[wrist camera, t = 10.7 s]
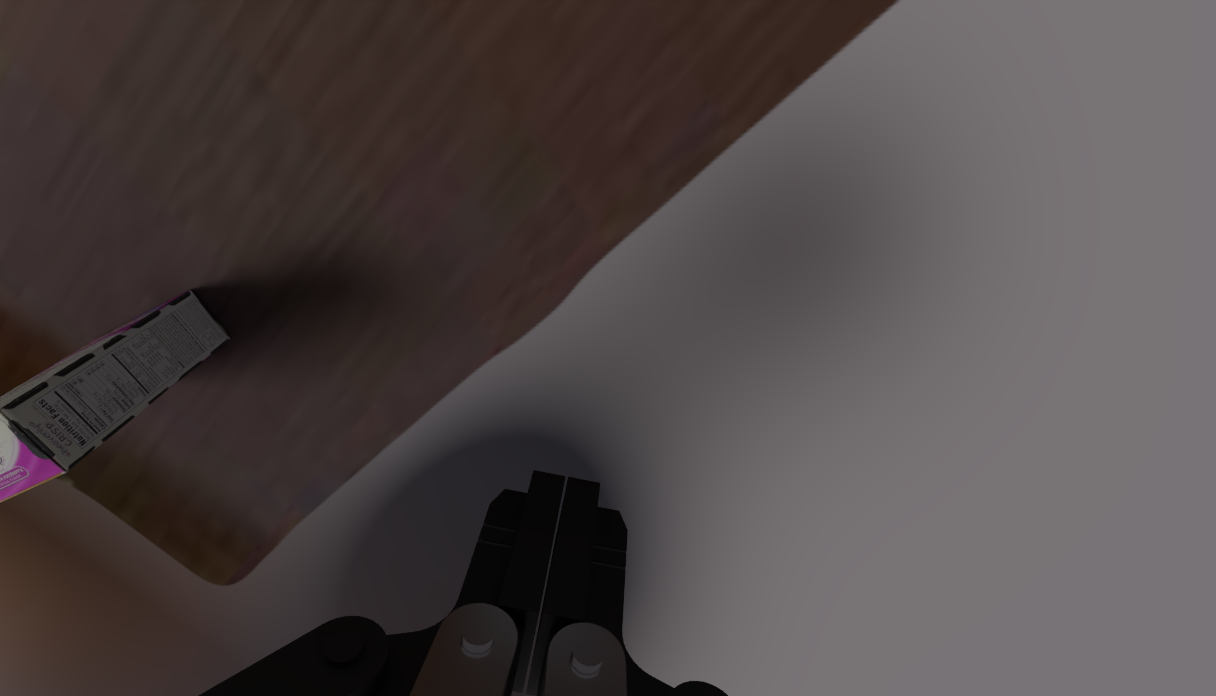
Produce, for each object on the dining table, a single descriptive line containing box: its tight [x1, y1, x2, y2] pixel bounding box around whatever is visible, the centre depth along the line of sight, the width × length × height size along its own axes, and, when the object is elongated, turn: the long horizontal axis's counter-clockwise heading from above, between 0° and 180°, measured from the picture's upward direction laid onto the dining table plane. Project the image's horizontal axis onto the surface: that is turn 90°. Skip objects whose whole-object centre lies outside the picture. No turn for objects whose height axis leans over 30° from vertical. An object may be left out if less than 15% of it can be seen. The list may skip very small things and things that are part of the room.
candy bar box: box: [0, 290, 230, 502], centre depth 42 cm, size 11×5×16 cm, turn 116°
